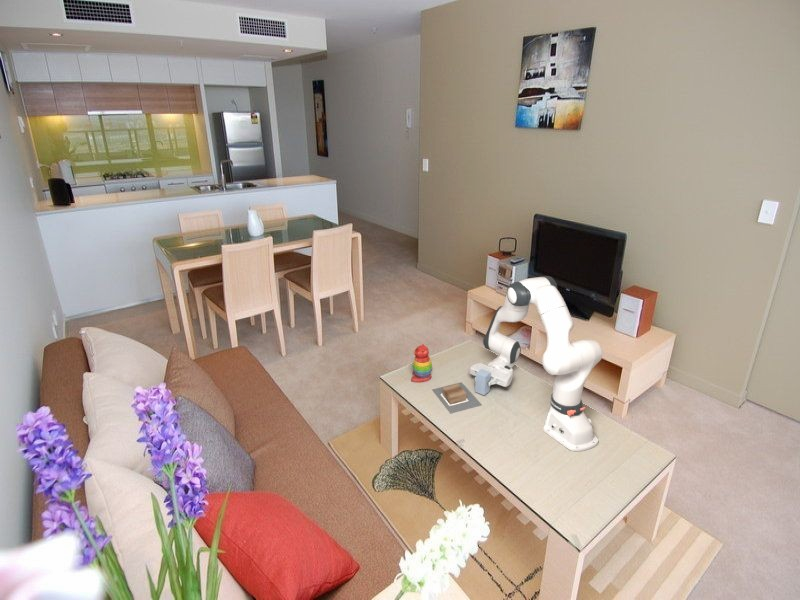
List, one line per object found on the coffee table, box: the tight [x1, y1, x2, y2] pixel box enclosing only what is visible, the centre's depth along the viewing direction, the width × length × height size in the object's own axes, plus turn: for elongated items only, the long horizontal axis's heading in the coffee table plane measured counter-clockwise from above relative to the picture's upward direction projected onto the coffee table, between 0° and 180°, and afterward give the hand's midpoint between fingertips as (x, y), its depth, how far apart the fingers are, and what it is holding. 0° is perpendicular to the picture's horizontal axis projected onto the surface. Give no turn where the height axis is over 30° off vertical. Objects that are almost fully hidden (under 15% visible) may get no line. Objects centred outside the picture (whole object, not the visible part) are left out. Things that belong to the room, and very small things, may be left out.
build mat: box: [431, 381, 483, 415], centre depth 215 cm, size 20×16×1 cm
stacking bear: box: [410, 343, 433, 384], centre depth 228 cm, size 11×10×18 cm
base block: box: [443, 383, 466, 404], centre depth 213 cm, size 8×8×4 cm
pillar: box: [474, 369, 491, 396], centre depth 215 cm, size 5×5×10 cm
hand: (482, 381), depth 214 cm, fingers closed on pillar, 5 cm apart
